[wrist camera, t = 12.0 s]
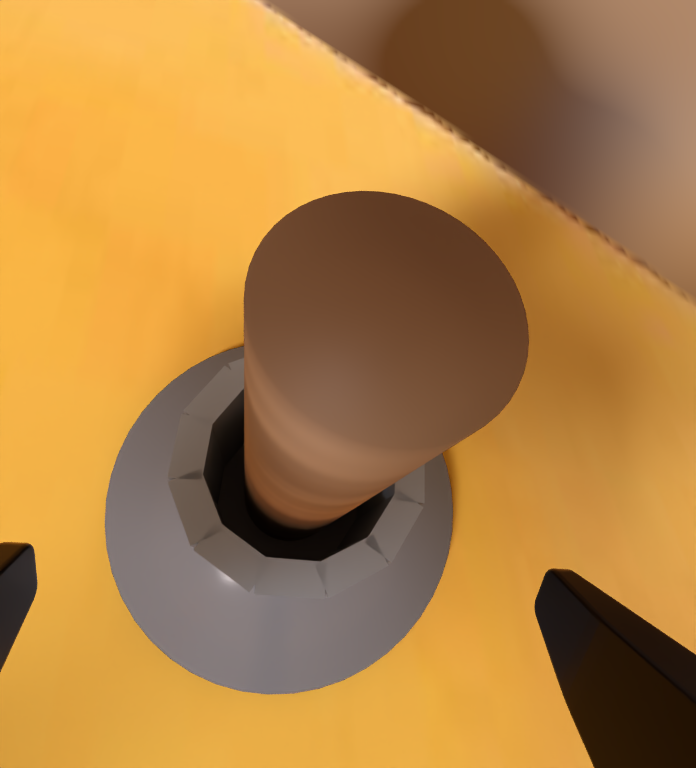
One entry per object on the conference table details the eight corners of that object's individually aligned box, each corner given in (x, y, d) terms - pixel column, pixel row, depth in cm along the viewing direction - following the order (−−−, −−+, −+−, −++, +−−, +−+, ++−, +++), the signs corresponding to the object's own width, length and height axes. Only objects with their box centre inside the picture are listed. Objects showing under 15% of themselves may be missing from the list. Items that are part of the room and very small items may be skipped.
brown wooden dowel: (351, 514, 17) (581, 378, 5) (267, 558, 15) (328, 505, 4) (312, 434, 17) (439, 167, 6) (230, 471, 16) (196, 228, 5)
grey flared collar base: (497, 461, 19) (585, 417, 14) (330, 779, 14) (373, 891, 9) (260, 296, 20) (262, 199, 15) (25, 539, 15) (-93, 518, 10)
